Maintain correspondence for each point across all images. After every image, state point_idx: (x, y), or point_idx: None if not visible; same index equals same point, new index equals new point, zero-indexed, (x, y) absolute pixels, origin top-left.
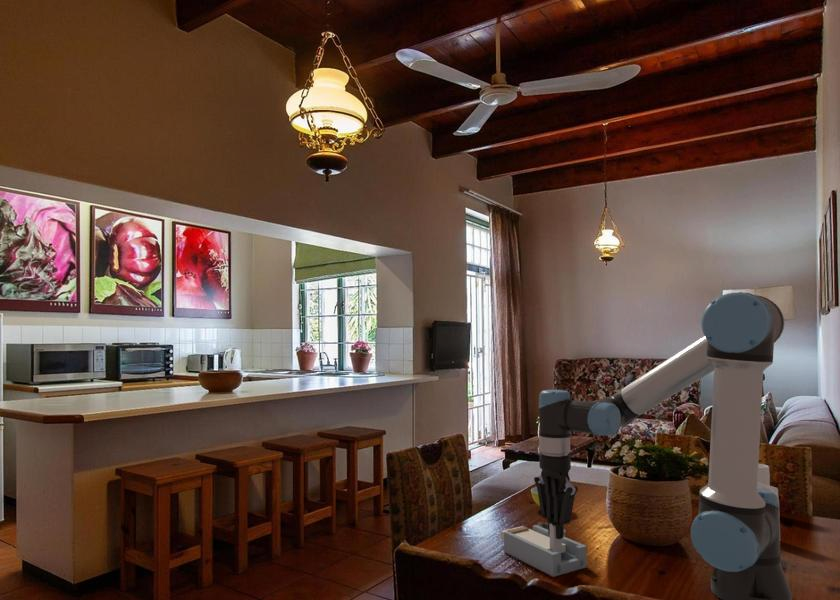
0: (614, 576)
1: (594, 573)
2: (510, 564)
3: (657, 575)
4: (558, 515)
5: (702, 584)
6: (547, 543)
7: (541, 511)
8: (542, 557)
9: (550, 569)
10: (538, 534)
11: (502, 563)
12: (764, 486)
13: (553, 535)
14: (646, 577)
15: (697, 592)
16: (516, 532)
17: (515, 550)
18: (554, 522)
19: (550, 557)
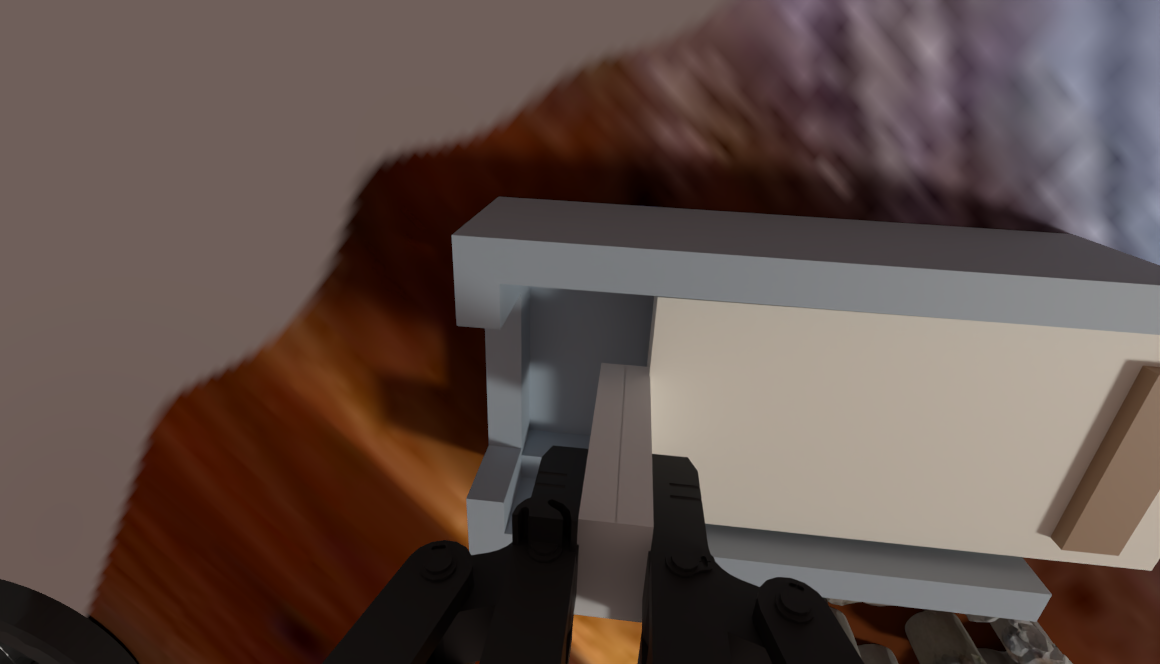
0: (347, 473)
1: (421, 430)
2: (862, 85)
3: (282, 604)
4: (484, 654)
5: (156, 643)
6: (737, 438)
7: (847, 657)
8: (596, 226)
9: (515, 206)
10: (919, 522)
11: (930, 36)
12: None
13: (595, 444)
14: (282, 561)
15: (98, 580)
16: (1115, 424)
17: (947, 239)
18: (566, 551)
19: (493, 229)
